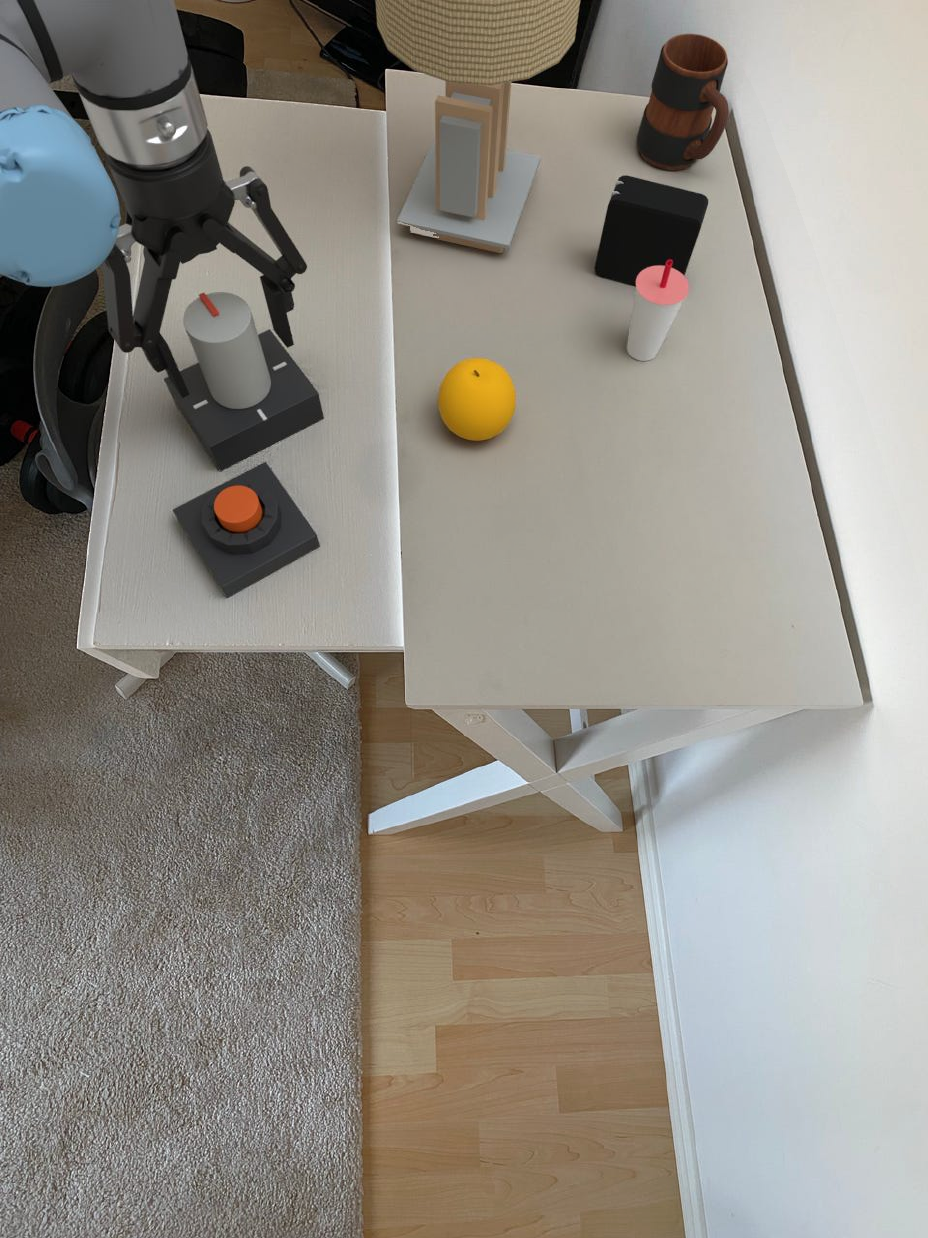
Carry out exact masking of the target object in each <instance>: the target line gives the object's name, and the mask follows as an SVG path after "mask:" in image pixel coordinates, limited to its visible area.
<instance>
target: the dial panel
mask: <svg viewBox="0 0 928 1238" xmlns="http://www.w3.org/2000/svg"><path fill="white" fill-rule="evenodd" d="M258 337H259V340H260V344H261V347H262V351H263V354H264V358H265V361H266V365H267V368H268V372H269V375H270V379H271V387H270V390H269V393H268V394H267V396H266V397H265V398H264V399H263V400H262V401H261V402H259V403H258V404H256V405H254V406H252V407H249V408H244V409H231V408H227V407H224V406H222V405H221V404H219V403H218V402H217V401H215V399H214V398H213V396H212V395H211V392H210V390H209V387H208V385H207V382H206V380H205V377H204V374H203V372H202V369H201V367H200V364H199V362H196V363H194V364H192V365H190V366H188V367H186V368H183V369H181V370H179V371H180V373H181V376H182V378H183V380H184V383H185V385H186V387H187V389H188V392H189V394H190V395H188V396H186V397H184V398H182V397H181V395H180V394H179V392H178V391H177V389H176V388H175V386H174V385H173V383H172V382H171V380H170V379H169V377H168V376H166V377H164V378H163V381H164V383H165V385H166V387H167V389H168V392H169V394H170V396H171V398H172V400H173V402H174V405H175V406H176V408H177V409H178V411H179V412H180V413H181V415H182V417H183V418H184V420H185V421H186V423H187V424H188V426H189V427H190V428H191V430H192V432H193V434H195V436H196V437H197V439H198V440H199V442H200V443H201V446H202V447H203V448H204V450H205V451H206V452H207V454H208V456H209V457H210V458H211V460H212V462H213V463H214V465H215V466H216V468H217V470H218V471H219V472H222V471H224V470H226V469H228V468H231V466H233V465H236V464H237V463H240V462H242V461H244V460H245V459H247V458H250V457H252V456H253V455H256V454H257V453H259V452H261V451H264V450H265V449H267V448H269V447H271V446H273V445H275V444H277V443H279V442H280V441H282V440H285V439H287V438H289V437H291V436H292V435H294V434H296V433H299V432H300V431H302V430H304V429H306V428H308V427H311V426H312V425H314V424H316V423H318V422H320V421H322V420H323V419H325V418H324V412H323V408H322V403H321V398H320V394H319V393H320V392H319V391H318V390H317V389H316V387H315V386H314V385H313V384H312V382H311V381H310V380H309V379H308V377H307V376H306V374H305V373H304V372H303V370H302V369H301V368H300V366H299V365H298V364H297V363H296V361H295V360H294V359H293V357H292V356H291V355H290V353H289V352H288V351H287V349H286V348H285V347H284V346H283V344H282V343H281V341H280V340H279V339H278V338H277V336H276V335H275V334H274V333H273V331H272V330H271V329H270V328H269V329H267V330H265V331H263V332H260V333H259V334H258Z"/></svg>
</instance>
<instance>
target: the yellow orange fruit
mask: <svg viewBox="0 0 928 1238" xmlns="http://www.w3.org/2000/svg"><path fill="white" fill-rule="evenodd" d="M437 398H438V399H437V405H438V410H439V414H440V418H441V420H442V421H443V423H444V424H445V426H446V427H447V428H448V430H450V432H452V433H453V434H455V435H456V436H458V437H460V438H462V439H465V440H468V441H475V442H476V441H478V442H479V441H485V440H489V439H492V438H494V437H496V436H498V435H499V434H501V433H502V432H503V431H504V430H505V429H507V427H508V426H509V425H510V422H511V420H512V419H513V416H514V415H515V412H516V407H517V406H516V403H517V392H516V387H515V385H514V382H513V379H512V377H511V375H510V374H509V373H508V371H507V370H506V369H505V368H504V367H503V366H502V365H500V364H499V363H497V362H496V361H494V360H491V359H487V358H484V357H483V358H482V357H472V358H465V359H464V360H461V361H459V362H457V363H456V364H454V366H452V367H451V368H450V369H449V370H448V371H447V373H446V374H445V376H444V377H443V379H442V381H441V383H440V385H439V390H438V397H437Z"/></svg>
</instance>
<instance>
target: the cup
mask: <svg viewBox="0 0 928 1238" xmlns="http://www.w3.org/2000/svg"><path fill="white" fill-rule="evenodd" d="M672 263H673V261H672V260H671V259H669V260H668V261H667V262H666V265H665V266H651V267H648V268H646V269H644V270H642V271H641V272H640V273H639V274H638V276H637V278H636V286H635V292H634V298H633V302H632V309H631V317H630V323H629V328H628V336H627V342H626V343H627V344H626V351H627V353H628V355H629V356H630V357H631V358H633V360H634V359H635V360H637V361H640V362H646V361H647V362H648V361H651V360H653V359H654V358H655V357H656V356H657V354H658V352H659V350H660V349H661V347H662V345H663V343H664V341H665V339H666V337H667V335H668V333H669V331H670V329H671V327H672V325H673V323H674V321H675V318H676V316H677V314H678V313H679V311H680V309H681V306H682V304H683V302H684V300H685V299H686V297H687V296H688V295H689V293H690V284H689V283H690V282H689V280H688V278H687V277H686V276H685V275H683V274H682V273H680V272H679V271H678V270H676V269H674V268H671V267H672Z"/></svg>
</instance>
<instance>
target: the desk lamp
mask: <svg viewBox="0 0 928 1238" xmlns="http://www.w3.org/2000/svg"><path fill="white" fill-rule="evenodd" d="M580 5H581V0H375V12H376V26H377V30H378V31H379V33H380V37H381V38H382V40H383V43H384V44H385V47H386V49H387V51H389V52H390V53H391V54H392V55H393V56H395V57H396V58H397V59H398V60H399V61H401V62H402V63H404V64H405V65H406V66H408V67H409V68H410V69H411V70H413V71H415V72H418V73H421V74H424V75H426V76H429V77H433V78H435V79H439V80H442V81H443V82H445V95H444V96H443V95H439V94H438V95H437V96H436V98H435V100H434V138H433V140H432V142H431V144H430V146H429V148H428V151H427V153H426V156H425V157H424V160H423V162H422V163H421V166H420V169H419V171H418V173H417V175H416V178H415V180H414V182H413V184H412V187H411V189H410V190H409V193H408V196H407V198H406V200H405V203H403V206H402V209H401V211H400V213H399V216H398V218H397V220H396V222H397V221H398V222H402V223H404V224H408V225H411V226H413V227H416V228H419V229H421V230H425V231H430V232H434V233H436V234H433V236H437V237H438V236H439V238H437V239H436V240H439V241H443V242H448V243H452V244H457V245H462V246H466V247H470V248H476V249H480V250H483V251H487V252H492V253H493V252H494V253H498V254H503V251H504V249H508V250H509V249H510V248H511V245H512V242H513V239H514V236H515V234H516V231H517V227H518V225H519V222H520V219H521V217H522V214H523V211H524V208H525V205H526V203H527V200H528V197H529V196H530V195H529V194H530V192H531V189H532V187H533V186H532V185H533V183H534V180H535V177H536V174H537V173H538V170H539V166H540V164H541V161H542V156H541V155H537V154H531V153H527V152H521V151H517V150H511V149H507V144H508V133H509V131H508V130H509V119H510V107H511V94H512V93H511V91H512V82H518V81H524V80H528V79H530V78H533V77H534V76H536V75H538V74H540V73H542V72H544V71H546V70H548V69H550V68H551V67H553V66H555V65H557V64H559V63H560V61H561V60H562V59H563V57H564V56H565V55H566V54H567V52H569V50H570V48H571V47H572V45H573V44H574V43H575V42H576V41H575V40H576V33H577V25H578V20H579V19H578V18H579V12H580ZM399 217H400V218H399Z"/></svg>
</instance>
